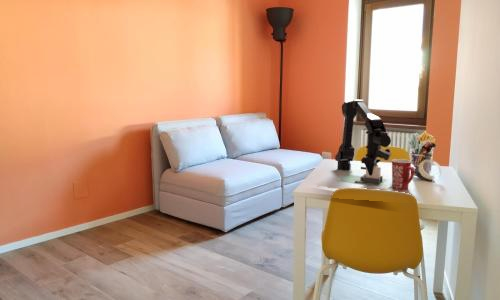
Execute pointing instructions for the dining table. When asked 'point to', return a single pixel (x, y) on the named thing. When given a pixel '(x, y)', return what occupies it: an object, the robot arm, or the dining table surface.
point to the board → (358, 180)
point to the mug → (401, 174)
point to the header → (371, 179)
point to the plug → (375, 173)
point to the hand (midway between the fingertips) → (371, 174)
